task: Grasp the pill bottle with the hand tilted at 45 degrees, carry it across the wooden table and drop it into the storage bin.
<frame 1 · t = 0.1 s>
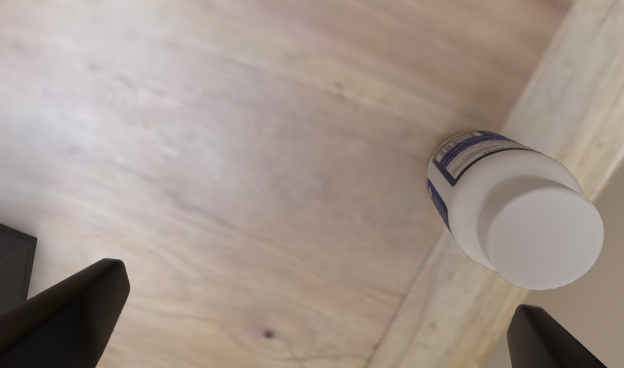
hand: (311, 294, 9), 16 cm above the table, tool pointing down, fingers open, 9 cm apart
pill bottle: (471, 173, 24), on the table
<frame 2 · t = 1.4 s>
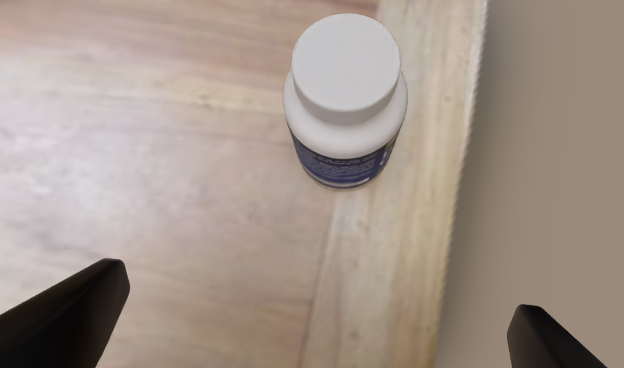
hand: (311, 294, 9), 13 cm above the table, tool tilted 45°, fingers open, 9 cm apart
pill bottle: (343, 149, 24), on the table
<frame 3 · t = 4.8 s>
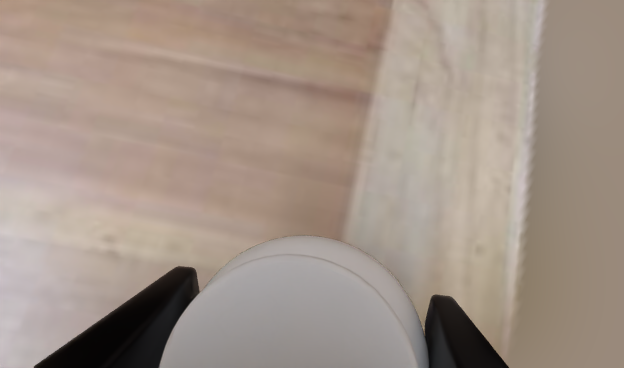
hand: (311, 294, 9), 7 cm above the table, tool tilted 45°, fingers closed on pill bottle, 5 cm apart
pill bottle: (318, 330, 15), on the table, touching gripper
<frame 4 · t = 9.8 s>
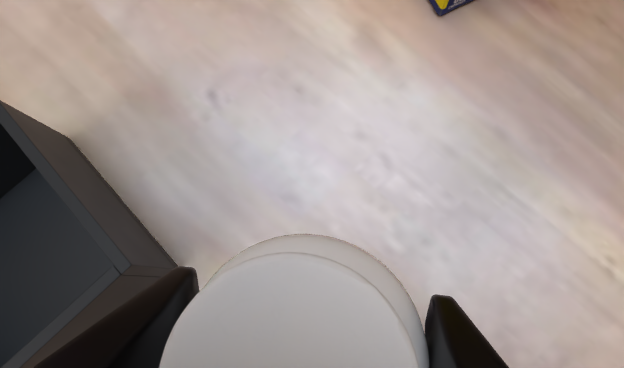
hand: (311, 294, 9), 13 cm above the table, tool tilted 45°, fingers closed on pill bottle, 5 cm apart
storage bin: (46, 267, 23), on the table
pill bottle: (319, 329, 16), point 6 cm above the table, touching gripper
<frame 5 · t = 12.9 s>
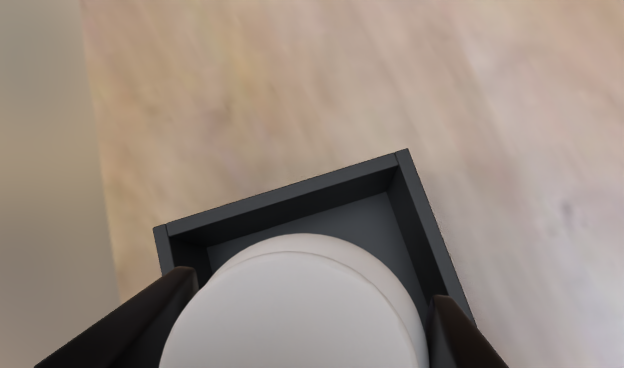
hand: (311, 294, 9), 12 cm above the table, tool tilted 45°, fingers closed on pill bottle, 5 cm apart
storage bin: (324, 313, 21), on the table
pill bottle: (319, 329, 15), point 6 cm above the table, touching gripper
when the fingers open (7 cm above the table, at t = 15.0 s): pill bottle stays where it is, resting on storage bin.
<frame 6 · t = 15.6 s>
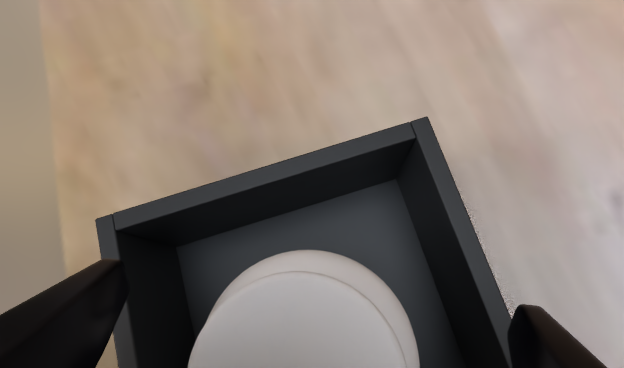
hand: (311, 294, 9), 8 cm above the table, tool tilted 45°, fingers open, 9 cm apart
storage bin: (320, 328, 17), on the table
pill bottle: (320, 333, 17), resting on storage bin
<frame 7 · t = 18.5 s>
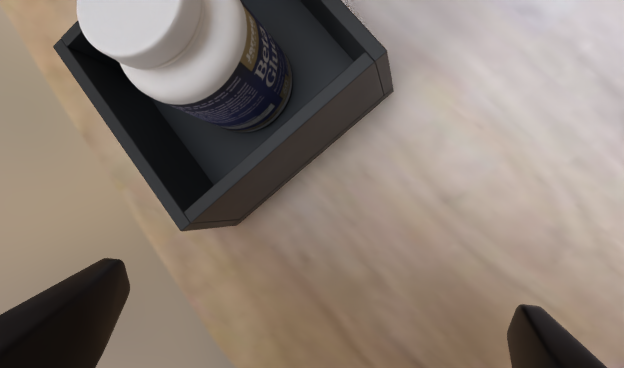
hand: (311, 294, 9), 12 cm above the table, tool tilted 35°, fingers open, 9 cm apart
storage bin: (251, 85, 23), on the table
pill bottle: (249, 86, 23), resting on storage bin
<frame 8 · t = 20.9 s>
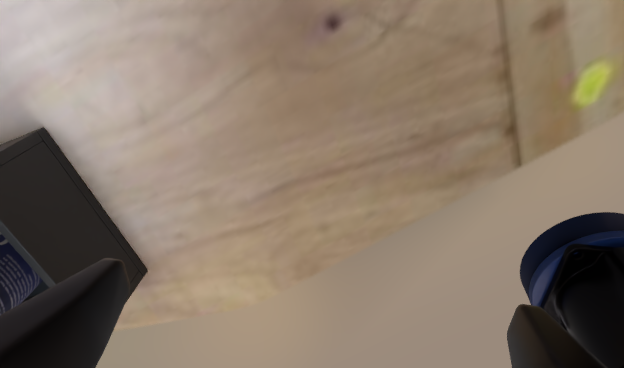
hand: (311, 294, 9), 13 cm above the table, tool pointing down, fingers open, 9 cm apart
storage bin: (35, 225, 27), on the table
pill bottle: (33, 229, 27), resting on storage bin
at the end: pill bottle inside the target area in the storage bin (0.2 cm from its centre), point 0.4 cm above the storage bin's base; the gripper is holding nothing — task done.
